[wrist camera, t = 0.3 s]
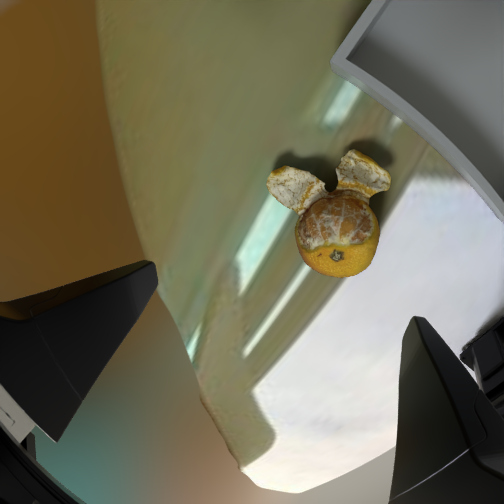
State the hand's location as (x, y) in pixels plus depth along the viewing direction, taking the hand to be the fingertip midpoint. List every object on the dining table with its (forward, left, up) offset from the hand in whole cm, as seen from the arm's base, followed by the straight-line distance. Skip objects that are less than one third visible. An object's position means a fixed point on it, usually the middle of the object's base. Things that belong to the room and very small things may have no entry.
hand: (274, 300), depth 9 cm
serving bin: (-4, -16, -13) cm, 21 cm away
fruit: (+1, -1, -14) cm, 14 cm away
